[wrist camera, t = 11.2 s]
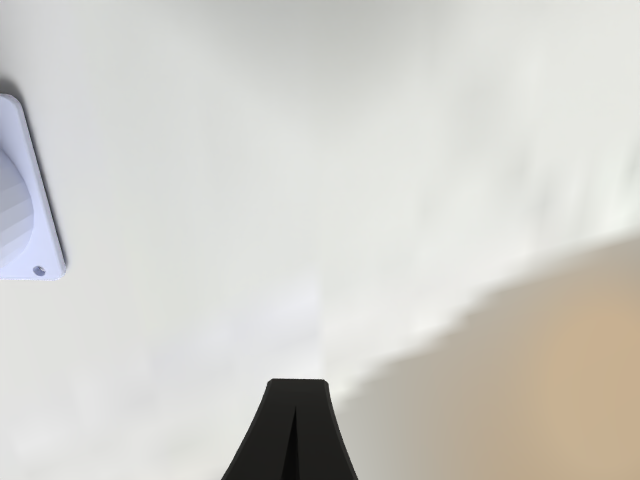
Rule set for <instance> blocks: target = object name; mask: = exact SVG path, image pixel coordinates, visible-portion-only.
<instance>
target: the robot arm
mask: <svg viewBox="0 0 640 480" xmlns="http://www.w3.org/2000/svg"><path fill="white" fill-rule="evenodd" d="M39 266H40V267H42V268H43V269H44V270H45V272H44V271H42V270H40V268H39ZM65 273H66V266H65V262H64V259H63V255H62V252H61V248H60V244H59V241H58V237H57V233H56V230H55V226H54V222H53V219H52V215H51V211H50V208H49V204H48V200H47V197H46V193H45V189H44V186H43V182H42V178H41V175H40V171H39V167H38V164H37V160H36V156H35V153H34V149H33V146H32V142H31V138H30V135H29V131H28V127H27V124H26V120H25V116H24V113H23V109H22V106H21V104H20V102H19V101H18V100H17V99H16V98H15V97H13V96H11V95H9V94H0V279H11V280H58V279H60V278H61V277H62V276H63V275H65ZM221 480H358V478H357V476H356V473H355V471H354V468H353V465H352V463H351V461H350V458H349V455H348V453H347V450H346V447H345V445H344V442H343V439H342V436H341V433H340V430H339V427H338V424H337V421H336V417H335V414H334V410H333V406H332V402H331V398H330V392H329V385H328V383H327V382H326V381H325V380H322V379H271V380H270V381H269V382H268V383H267V387H266V390H265V393H264V395H263V398H262V400H261V403H260V405H259V408H258V410H257V412H256V414H255V417H254V419H253V421H252V423H251V425H250V427H249V429H248V431H247V433H246V435H245V437H244V439H243V441H242V443H241V445H240V447H239V449H238V450H237V452H236V454H235V456H234V458H233V460H232V462H231V464H230V465H229V467H228V469H227V470H226V472H225V474H224V476H223V477H222V479H221Z"/></svg>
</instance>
